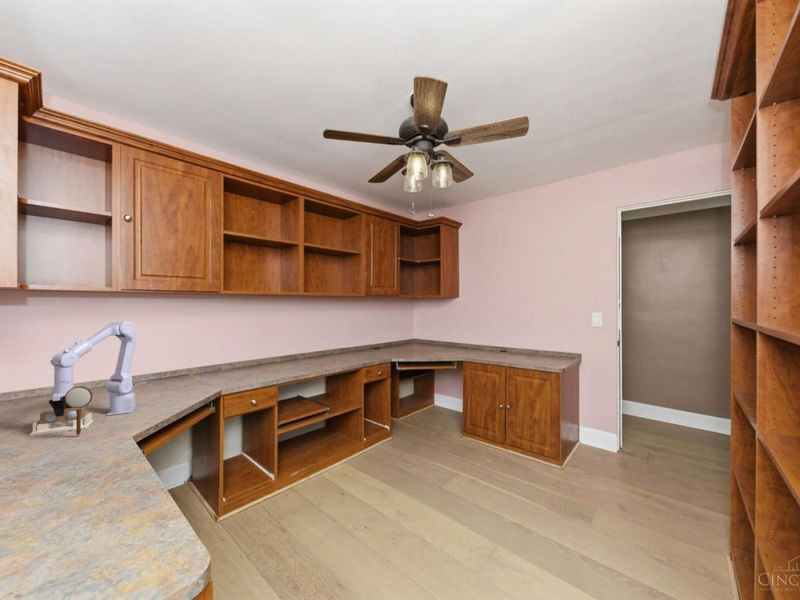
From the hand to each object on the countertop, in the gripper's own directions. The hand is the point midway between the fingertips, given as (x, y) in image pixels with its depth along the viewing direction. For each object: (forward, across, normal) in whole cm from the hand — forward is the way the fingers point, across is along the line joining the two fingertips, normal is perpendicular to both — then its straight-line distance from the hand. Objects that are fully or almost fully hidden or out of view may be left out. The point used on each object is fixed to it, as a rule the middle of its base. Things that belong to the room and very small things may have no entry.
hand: (63, 413), depth 142 cm
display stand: (+6, 0, 0) cm, 6 cm away
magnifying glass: (+7, +14, +9) cm, 18 cm away
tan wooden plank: (+3, 0, 0) cm, 3 cm away
